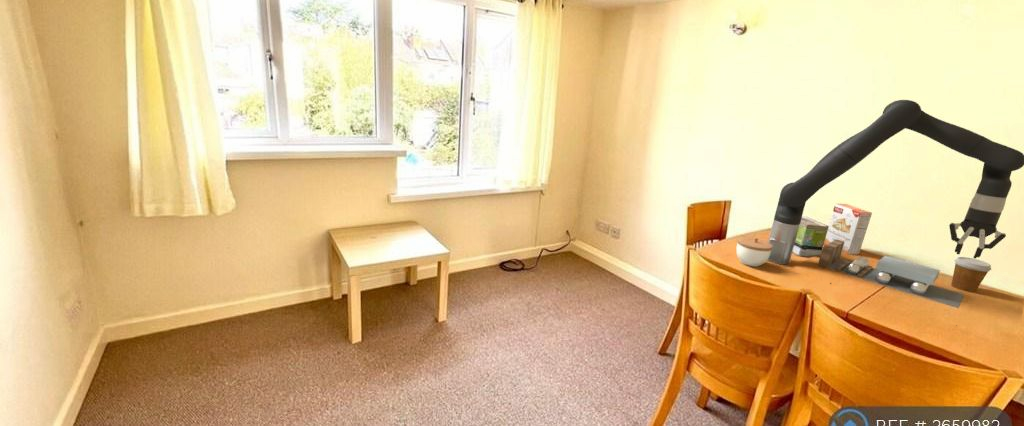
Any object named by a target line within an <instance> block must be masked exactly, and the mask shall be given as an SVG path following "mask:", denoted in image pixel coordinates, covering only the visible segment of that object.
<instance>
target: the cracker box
mask: <svg viewBox="0 0 1024 426" xmlns="http://www.w3.org/2000/svg"><path fill="white" fill-rule="evenodd" d="M872 214H873V212H871V211H867V210H865V209H862V208H860V207H857V206H853V205H850V204H847V203H835V204H834V207H833V210H832V214H831V217H830V220H829V224H828V226H829V228H828V231H827V234H826V238H825V241H824V245H823V246H826V245H827V244H829V243H831V242H833V241H834V240H836V239H837V240H841V241H845V242H844V246H843V249H842V252H841V253H845V254H846V255H858V256H859V254H860V252H861V250H862V249H861V248H862V246H863V243H864V241H865V236H866V234H867V229H868V227H869V224H870V221H871V217H872Z"/></svg>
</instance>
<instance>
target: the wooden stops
mask: <svg viewBox="0 0 1024 426" xmlns="http://www.w3.org/2000/svg"><path fill="white" fill-rule="evenodd" d="M844 242H845V241H841V240H837V239H836V240H834V241H833V242H831V243H829V244H827V245H826V246H825V245H823V248H822V251H821V255H820V256H819V259H818V263H817V266H818V267H822V268H825V269H826V268H827V267H829V266H830V265H832V264H833V263H835V262H836V261H838V260H839V259H841V255H842V253H843V252H842V249H843V246H844ZM851 262H853V261H852V260H851V259H845V262H843V263H842V264H841V265H839V266H838V267H836V270H838V271H841V270H842V269H844V268H845V267H846V266H848V265H849V264H850V263H851ZM872 268H873V266H872V265H869V264H868V265H866V268H864V269H863V270H862V271H861V272H860V273H858V275H857V277H856V278H858V277H861V278H862V277H863V276H864V275H866V274H867V273H868V272H869V271H870V270H871V269H872ZM827 269H828V268H827ZM838 271H837V272H838ZM861 278H860V279H861Z"/></svg>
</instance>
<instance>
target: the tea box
mask: <svg viewBox="0 0 1024 426" xmlns="http://www.w3.org/2000/svg"><path fill="white" fill-rule="evenodd" d="M828 228H829V225H828V224H825V223H822V222H820V221H818V220H816V219H813V218H810V217H808V216H803V215H802V219H801V222H800V226H799V229H798V233H797V237H796V240H795V244H794V248H793V251H792V254H793V253H794V254H795V255H796V256H799V257H807V258H808V257H810V258H812V257H814V256H819V257H820V256H821V252H822V249H823V247H824V246H825V245H824V241H825V238H826V234H827V231H828Z"/></svg>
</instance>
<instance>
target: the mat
mask: <svg viewBox="0 0 1024 426" xmlns="http://www.w3.org/2000/svg"><path fill="white" fill-rule="evenodd" d="M845 261H846V259H841V258H839V259H838V260H837V261H836V262H834V263H833V264H831V265H830V266H828V267H827V269H829V270H832V271H836V272H839V273H842V274H845V275H849V276H851V277H855V278H858V279H862V280H865V281H867V282H868V281H869V282H872V283H875V284H878V285H880V286H884V287H887V288H891V289H894V290H897V291H900V292H903V293H907V294H910V295H914V296H917V297H920V298H924V299H927V300H930V301H933V302H936V303H939V304H944V305H945V306H950V307H953V308H957V309H959V307H960V305H961V303H962V300H963V299H964V296H965V294H963V293H961V292H958V291H953V290H950V289H947V288H943V287H939V286H935V285H934V284H933V285H929V287H928V288H927V290H926V291H925V293H923V294H921V295H917V294H914V293H912V292H911V290H910V287H911V285H912V284H913V283H914V281H915V280H912V279H908V278H905V277H901V276H898V275H894V277H893V278H892V279H891V280H890V281H889V282H888V283H886V284H880V283H878V282H877V281H876V279H875V277H876V275H877V274H878V273H879V272H880V270H877V269H876V268H873V267H872V269H871V270H870V271H869V272H868V273H867V274H866V275H864V276H863V277H862V278H861V277H857V275H858V273H860V272H861V271H862V270H863V269H864V268H866V267H867V265H866V266H865V267H864V268H863V269H862V270H860V271H859V272H858V273H857V274H855V275H851V274H848V273H847V272H846V267H847V266H846V267H845V268H844V269H842V270H841V271H838V270H836V267H838V266H839V265H841V264H842V263H843V262H845ZM852 262H853V261H852ZM852 262H851V263H852Z"/></svg>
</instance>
